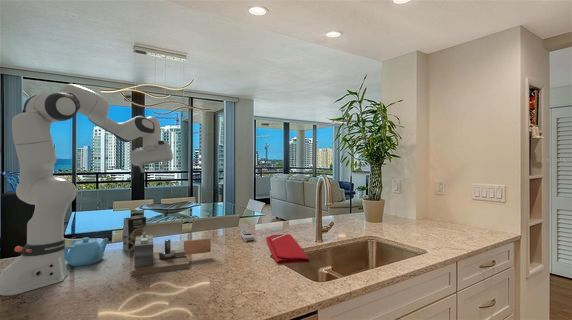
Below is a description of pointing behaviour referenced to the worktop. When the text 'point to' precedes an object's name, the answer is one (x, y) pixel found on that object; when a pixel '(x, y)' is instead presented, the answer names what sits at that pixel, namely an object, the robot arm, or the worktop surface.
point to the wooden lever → (187, 248)
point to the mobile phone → (245, 232)
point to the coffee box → (133, 231)
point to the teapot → (85, 252)
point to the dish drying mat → (286, 249)
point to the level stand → (153, 258)
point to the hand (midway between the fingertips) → (152, 170)
